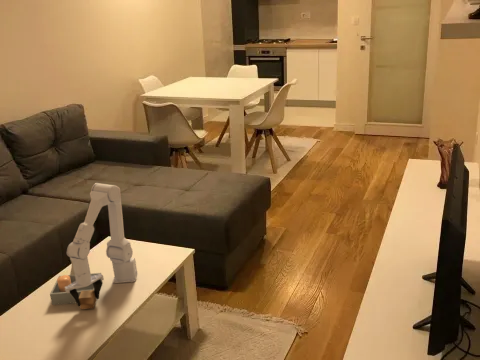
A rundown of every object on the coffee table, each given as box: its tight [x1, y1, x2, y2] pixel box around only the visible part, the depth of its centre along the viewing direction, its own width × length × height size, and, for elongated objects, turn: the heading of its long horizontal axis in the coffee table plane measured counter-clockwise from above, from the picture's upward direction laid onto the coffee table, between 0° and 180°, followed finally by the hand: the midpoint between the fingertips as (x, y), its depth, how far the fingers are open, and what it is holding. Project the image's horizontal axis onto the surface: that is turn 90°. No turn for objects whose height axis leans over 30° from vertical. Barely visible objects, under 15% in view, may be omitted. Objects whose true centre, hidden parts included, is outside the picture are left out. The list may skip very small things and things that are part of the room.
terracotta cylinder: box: [56, 274, 71, 292], centre depth 211 cm, size 5×5×7 cm
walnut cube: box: [79, 290, 97, 310], centre depth 203 cm, size 5×5×5 cm
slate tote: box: [49, 272, 104, 306], centre depth 212 cm, size 17×13×5 cm
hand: (88, 301), depth 203 cm, fingers closed on walnut cube, 7 cm apart
